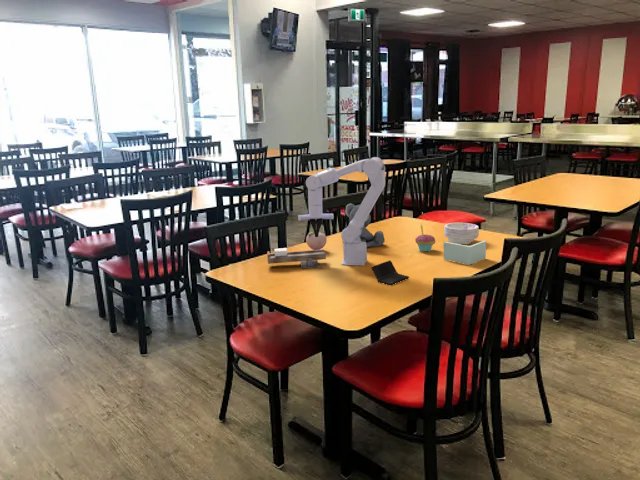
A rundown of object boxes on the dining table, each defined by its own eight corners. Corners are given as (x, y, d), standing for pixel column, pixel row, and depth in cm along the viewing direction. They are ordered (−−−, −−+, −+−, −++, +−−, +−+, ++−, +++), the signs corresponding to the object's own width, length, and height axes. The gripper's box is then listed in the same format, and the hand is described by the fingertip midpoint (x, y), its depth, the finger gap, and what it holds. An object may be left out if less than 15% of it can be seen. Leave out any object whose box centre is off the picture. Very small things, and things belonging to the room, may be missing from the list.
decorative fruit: (315, 255, 224) (314, 232, 222) (303, 251, 230) (302, 230, 228) (331, 250, 230) (330, 229, 228) (319, 247, 236) (318, 226, 234)
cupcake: (413, 252, 222) (413, 225, 220) (417, 247, 230) (417, 221, 227) (433, 253, 219) (433, 226, 216) (436, 248, 227) (437, 222, 224)
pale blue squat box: (485, 258, 210) (486, 240, 208) (469, 265, 202) (470, 247, 200) (459, 253, 218) (460, 236, 216) (443, 259, 210) (443, 242, 208)
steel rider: (287, 254, 212) (286, 247, 211) (287, 257, 207) (286, 250, 207) (275, 255, 211) (274, 248, 210) (275, 258, 207) (274, 251, 206)
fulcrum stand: (316, 260, 216) (316, 251, 215) (319, 267, 206) (318, 258, 205) (300, 261, 216) (299, 252, 215) (301, 268, 206) (301, 259, 205)
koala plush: (387, 245, 236) (387, 203, 231) (356, 252, 226) (355, 208, 221) (363, 238, 250) (362, 198, 245) (333, 245, 240) (332, 203, 235)
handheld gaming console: (395, 282, 181) (382, 258, 183) (381, 291, 185) (368, 267, 187) (411, 278, 190) (398, 254, 192) (397, 287, 194) (384, 264, 196)
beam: (324, 254, 214) (323, 246, 214) (325, 259, 207) (325, 250, 207) (268, 258, 213) (267, 250, 212) (268, 263, 206) (267, 255, 205)
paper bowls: (482, 240, 238) (482, 223, 236) (472, 248, 226) (473, 230, 224) (450, 237, 246) (450, 220, 244) (439, 244, 234) (439, 227, 232)
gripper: (331, 201, 215) (332, 233, 218) (297, 203, 214) (298, 235, 217) (333, 204, 208) (334, 237, 211) (298, 206, 207) (299, 239, 210)
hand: (316, 236), depth 214 cm, fingers closed
